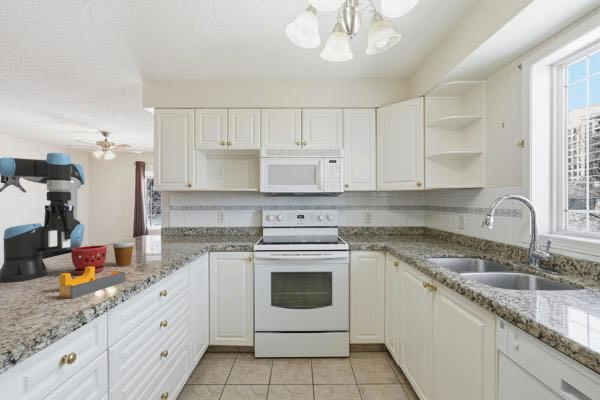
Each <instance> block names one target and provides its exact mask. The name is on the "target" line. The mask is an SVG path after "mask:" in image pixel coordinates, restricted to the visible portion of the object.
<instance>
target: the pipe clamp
mask: <svg viewBox="0 0 600 400" xmlns="http://www.w3.org/2000/svg"><path fill="white" fill-rule="evenodd" d="M93 280H96V273H95V267H86V268H85V271H84V274H80V275H78V276H76V277H75V278H74V279H73V277H72V276H71V273H69V272H64V273H59V286H60V285H70V286H75V285H78V284H82V283H86V282H89V281H93Z"/></svg>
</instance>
